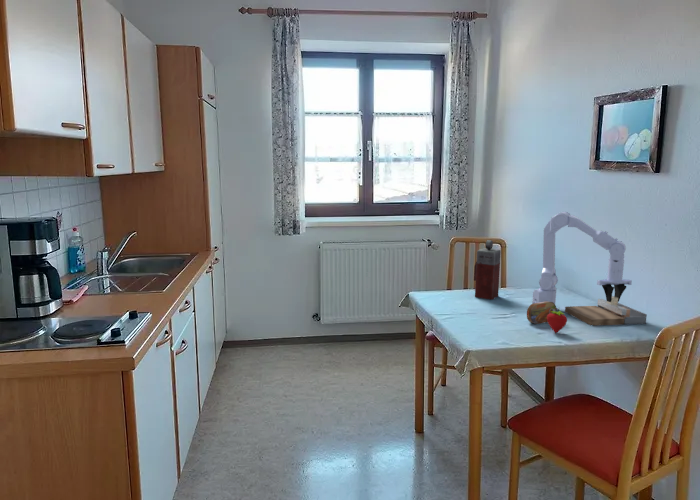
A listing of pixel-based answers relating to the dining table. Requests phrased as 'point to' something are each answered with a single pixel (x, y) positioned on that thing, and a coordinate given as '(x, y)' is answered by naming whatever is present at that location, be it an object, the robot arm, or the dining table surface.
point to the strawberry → (556, 320)
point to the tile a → (626, 313)
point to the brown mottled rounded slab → (540, 312)
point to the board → (594, 315)
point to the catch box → (632, 316)
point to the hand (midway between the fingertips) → (612, 301)
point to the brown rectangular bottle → (487, 272)
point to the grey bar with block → (612, 305)
